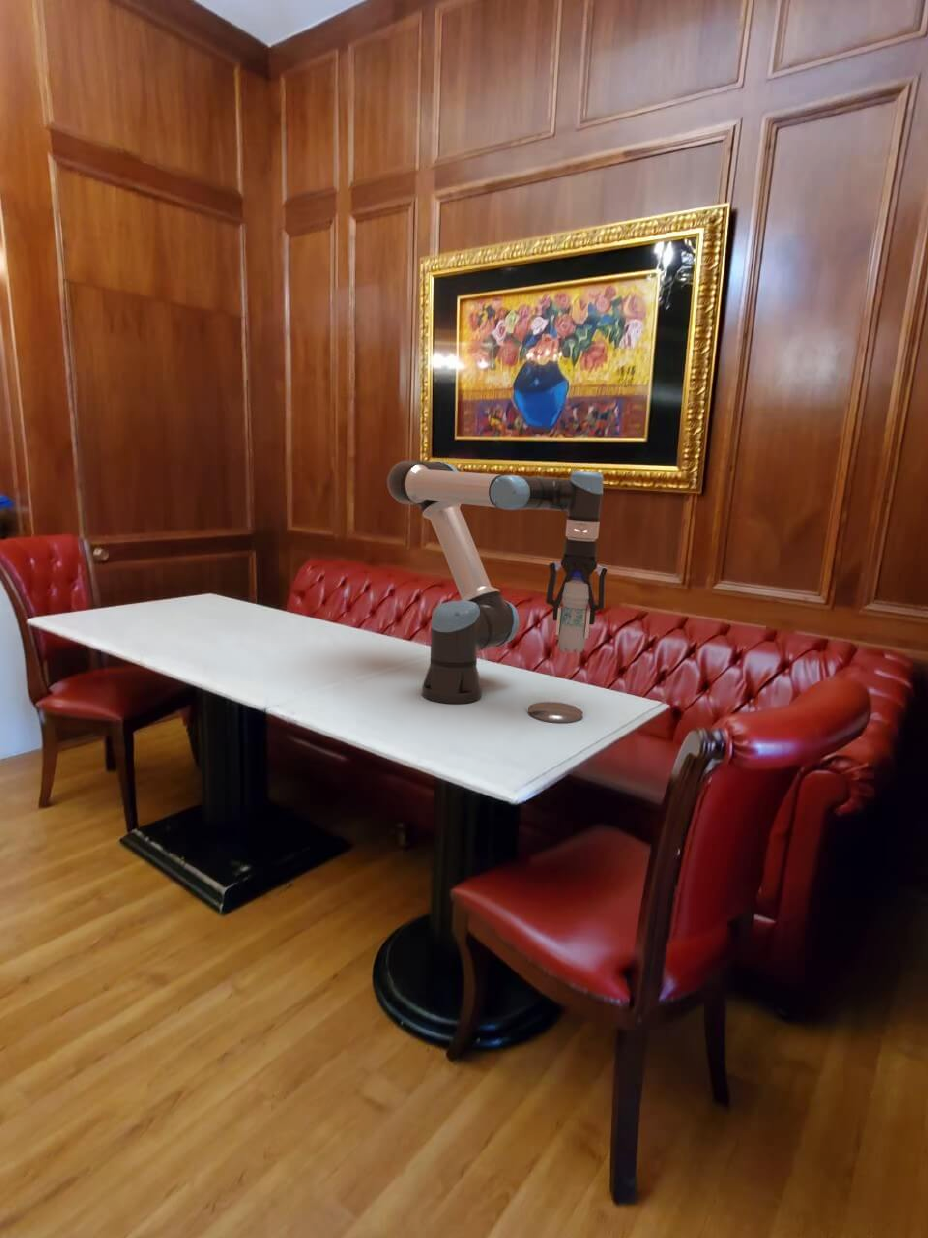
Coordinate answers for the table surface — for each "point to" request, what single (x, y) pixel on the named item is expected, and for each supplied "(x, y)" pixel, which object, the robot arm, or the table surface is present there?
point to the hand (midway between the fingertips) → (571, 635)
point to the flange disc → (555, 712)
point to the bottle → (573, 614)
